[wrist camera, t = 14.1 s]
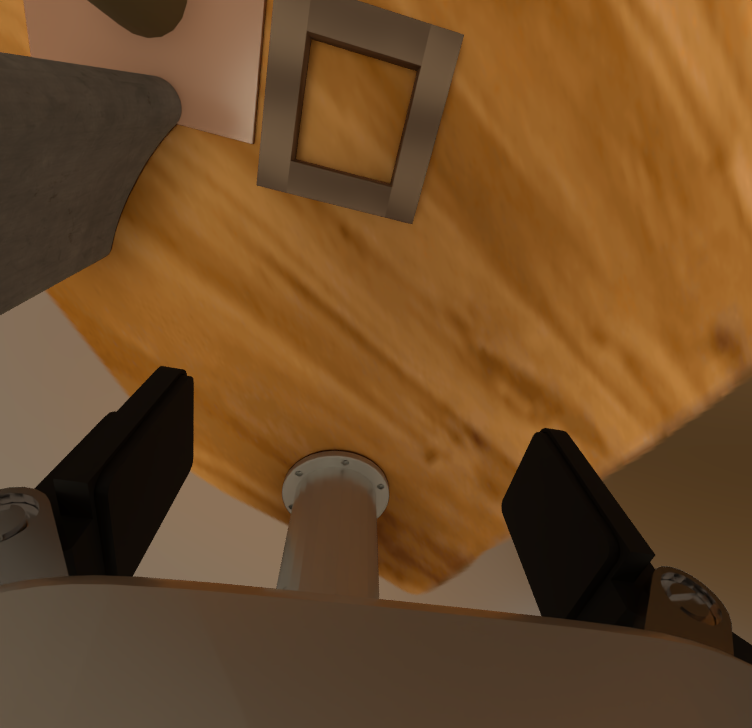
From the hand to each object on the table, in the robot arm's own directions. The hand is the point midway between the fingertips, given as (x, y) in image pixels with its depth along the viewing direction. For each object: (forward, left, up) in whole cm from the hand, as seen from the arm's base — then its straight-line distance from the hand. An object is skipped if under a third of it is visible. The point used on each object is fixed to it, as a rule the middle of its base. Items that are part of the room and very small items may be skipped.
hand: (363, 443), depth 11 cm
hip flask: (0, +20, -27) cm, 33 cm away
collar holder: (+8, +3, -27) cm, 28 cm away
